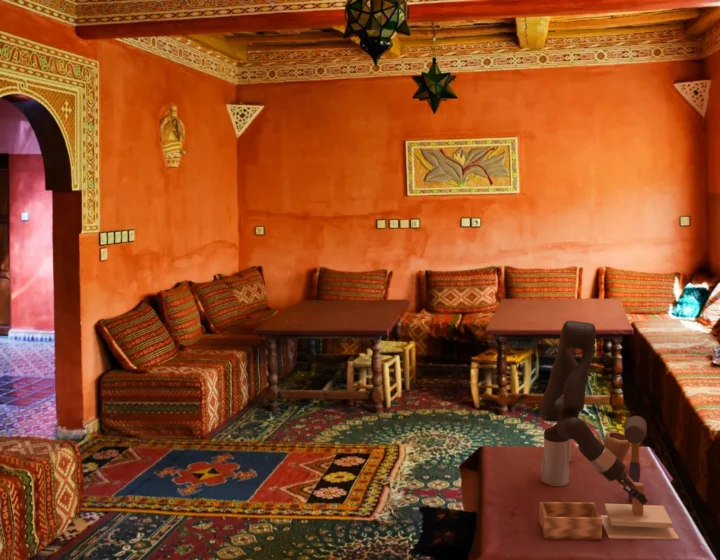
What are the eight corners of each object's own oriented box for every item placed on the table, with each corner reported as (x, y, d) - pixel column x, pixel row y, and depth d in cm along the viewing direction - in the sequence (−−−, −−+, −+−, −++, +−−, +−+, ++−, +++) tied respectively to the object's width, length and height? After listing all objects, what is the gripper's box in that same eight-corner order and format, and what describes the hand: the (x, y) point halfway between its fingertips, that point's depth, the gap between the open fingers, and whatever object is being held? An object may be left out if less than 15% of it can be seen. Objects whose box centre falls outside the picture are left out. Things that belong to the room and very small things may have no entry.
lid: (610, 528, 265) (611, 490, 264) (604, 510, 279) (605, 475, 277) (672, 530, 262) (673, 493, 261) (663, 512, 276) (663, 477, 275)
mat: (609, 538, 264) (609, 537, 264) (598, 516, 281) (598, 515, 280) (679, 539, 262) (679, 538, 262) (664, 517, 279) (664, 516, 279)
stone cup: (633, 476, 316) (634, 438, 314) (602, 476, 316) (602, 439, 314) (622, 462, 331) (623, 426, 329) (592, 462, 331) (593, 427, 329)
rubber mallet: (644, 508, 286) (646, 425, 282) (621, 505, 289) (623, 423, 285) (646, 495, 297) (647, 415, 293) (624, 492, 300) (626, 413, 296)
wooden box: (544, 538, 265) (544, 518, 264) (539, 521, 277) (539, 501, 276) (601, 539, 263) (602, 518, 262) (593, 522, 276) (594, 502, 275)
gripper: (618, 463, 262) (657, 501, 262) (612, 448, 276) (649, 485, 276) (601, 478, 264) (639, 516, 263) (595, 463, 278) (632, 499, 277)
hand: (644, 500), depth 270 cm, fingers closed on lid, 3 cm apart
